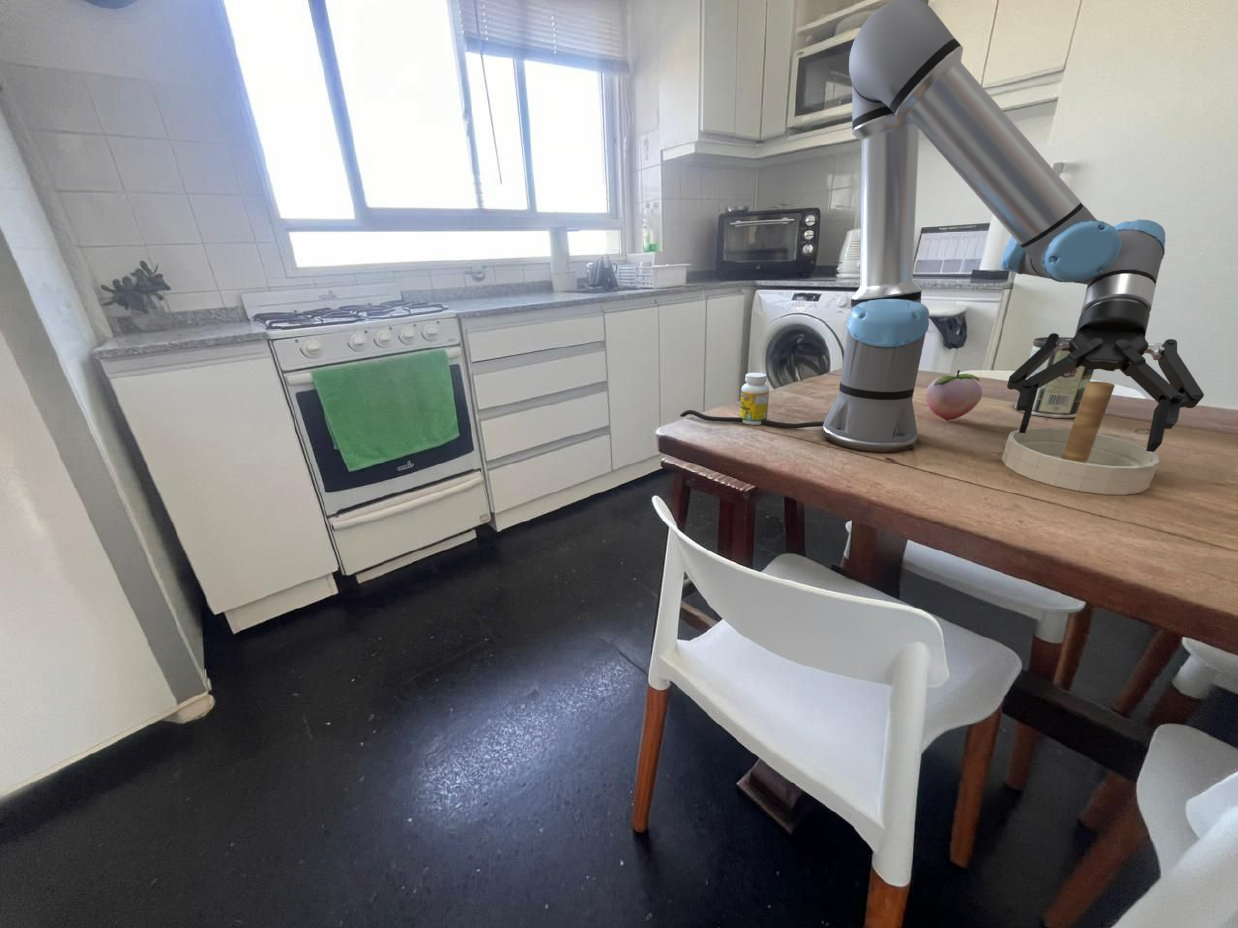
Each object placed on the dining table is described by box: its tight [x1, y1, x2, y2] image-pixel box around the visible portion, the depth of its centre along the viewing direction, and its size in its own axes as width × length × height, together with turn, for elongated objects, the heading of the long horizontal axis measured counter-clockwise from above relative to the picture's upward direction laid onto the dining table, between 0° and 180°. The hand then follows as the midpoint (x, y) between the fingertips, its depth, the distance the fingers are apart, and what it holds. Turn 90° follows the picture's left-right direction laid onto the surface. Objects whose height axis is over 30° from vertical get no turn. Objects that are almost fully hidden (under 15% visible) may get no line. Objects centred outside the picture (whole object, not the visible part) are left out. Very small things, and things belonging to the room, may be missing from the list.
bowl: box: [1001, 427, 1160, 496], centre depth 72 cm, size 16×16×4 cm
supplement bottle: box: [739, 372, 770, 426], centre depth 98 cm, size 5×5×10 cm
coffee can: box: [1014, 336, 1095, 419], centre depth 98 cm, size 10×10×14 cm
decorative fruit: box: [925, 369, 983, 421], centre depth 95 cm, size 9×8×10 cm
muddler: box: [1061, 380, 1116, 464], centre depth 70 cm, size 5×5×13 cm
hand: (1084, 437), depth 69 cm, fingers open, 13 cm apart
